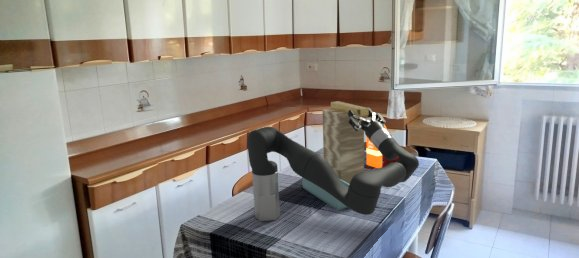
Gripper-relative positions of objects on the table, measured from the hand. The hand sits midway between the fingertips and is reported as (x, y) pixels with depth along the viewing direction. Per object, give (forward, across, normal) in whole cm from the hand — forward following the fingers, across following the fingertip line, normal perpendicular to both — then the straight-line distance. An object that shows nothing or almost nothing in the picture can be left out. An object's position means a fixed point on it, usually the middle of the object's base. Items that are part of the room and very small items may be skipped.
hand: (357, 110), depth 169 cm
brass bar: (+5, 0, +5) cm, 7 cm away
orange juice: (+1, -27, +40) cm, 48 cm away
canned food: (-14, -21, +31) cm, 40 cm away
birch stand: (-7, 0, +35) cm, 36 cm away
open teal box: (-17, +14, +29) cm, 37 cm away
